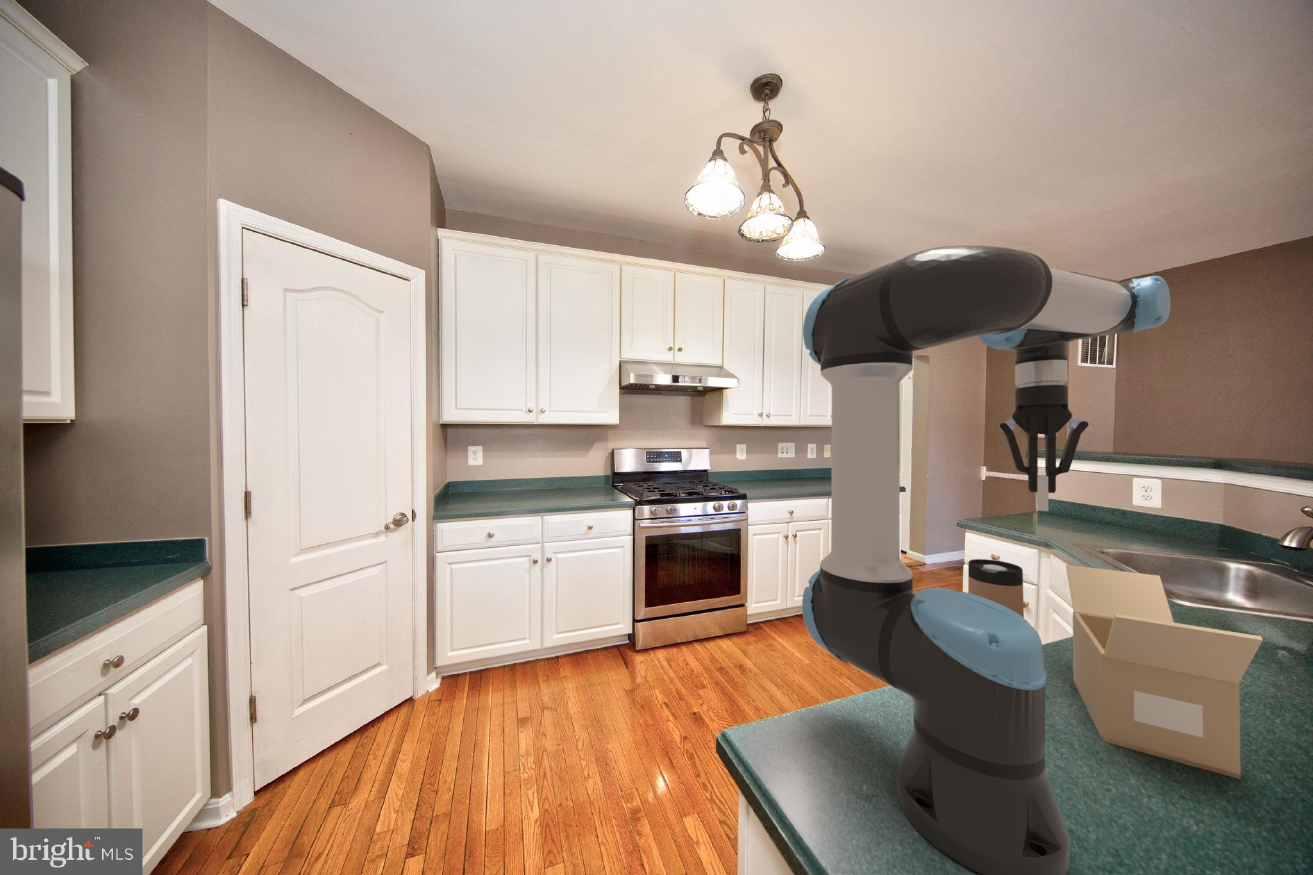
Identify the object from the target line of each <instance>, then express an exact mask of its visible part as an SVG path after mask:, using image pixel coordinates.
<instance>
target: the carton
mask: <svg viewBox="0 0 1313 875" xmlns="http://www.w3.org/2000/svg"><path fill="white" fill-rule="evenodd" d="M1112 622H1113V618H1108V617H1102V616H1096V615H1090V614H1084V613H1077V612H1074V611H1072V649H1073V650H1072V651H1073V652H1072V655H1073V658H1072V662H1073V663H1072V666H1073V668H1072V671H1073V676H1072V677H1073V684H1074V685H1075V687H1076V689H1077V691H1078V693H1079V695H1080V698H1081V700H1082V702H1083V704H1084V706H1085V708H1086V710H1087V713H1088V714H1089V716H1090V718H1091V720H1092V722H1093V724H1094V726H1095V728H1096V730H1097V732H1098V734H1099V737H1100V739H1101V741H1102V742H1104V743H1108V744H1111V745H1115V746H1119V747H1121V748H1126V749H1129V750H1133V751H1136V752H1140V753H1144V754H1148V755H1150V756H1154V757H1158V758H1161V759H1165V760H1169V761H1173V762H1177V763H1179V764H1180V763H1181V764H1184V765H1186V766H1190V767H1195V768H1198V769H1201V770H1205V771H1209V772H1212V773H1216V774H1220V775H1223V776H1226V777H1230V778H1234V779H1236V780H1237V779H1238V780H1241V779H1242V777H1241V772H1242V771H1241V770H1242V769H1241V768H1242V767H1241V712H1240V711H1241V710H1240V709H1241V706H1240V704H1241V703H1240V683H1239V684H1237V683H1232V682H1227V681H1222V680H1217V679H1212V678H1207V677H1202V676H1197V675H1192V674H1187V673H1182V672H1177V671H1172V670H1167V669H1162V668H1157V667H1152V666H1147V665H1141V664H1136V663H1131V662H1126V661H1121V660H1116V659H1111V658H1106V657H1105V656H1104V652H1105V648H1106V644H1107V641H1108V637H1109V633H1110V630H1111V626H1112Z"/></svg>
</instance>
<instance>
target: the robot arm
mask: <svg viewBox="0 0 1313 875" xmlns="http://www.w3.org/2000/svg"><path fill="white" fill-rule="evenodd" d="M1171 304H1172V302H1171V292H1170V287H1169V285H1168V284H1167V282H1166V280H1165V279H1164V278H1163V277H1161V276H1159V275H1152V276H1147V277H1146V276H1145V277H1140V278H1132V279H1130V280H1127V281H1124V282H1123V281H1122V282H1115V281H1114V282H1112V281H1110V280H1104V279H1100V278H1095V277H1092V276H1088V275H1085V274H1084V275H1083V274H1080V273H1079V274H1078V273H1074V272H1071V271H1066V270H1062V269H1061V270H1060V269H1058V268H1054V267H1050V266H1049V264H1048V262H1046V260H1045V259H1043V258H1042V257H1040V256H1039V255H1037V254H1035V253H1032V252H1029V251H1025V250H1020V249H1015V248H1010V247H1001V246H993V245H992V246H991V245H948V246H947V245H946V246H939V247H938V246H937V247H932V248H928V249H923V250H919V251H917V252H914V253H910V254H909V255H906V256H904V257H903V258H901V259H897V260H895V261H893V262H888V263H887V264H884V265H882V266H880V267H877V268H874V269H872V270H869V271H867V272H864V273H860V274H858V275H856V276H853V277H848V278H845V279H843V280H841V281H839V282H837V283H835V284H834V285H833V286H831V287H827V288H826V289H824V290H822V291H821V292H820V293H819V294H818V295H816V297H814V299H813V300H812V301H811V303H810V305H809V307H808V308H807V310H806V312H805V316H804V319H803V320H804V321H803V326H802V338H803V343H804V346H805V349H806V350H809V353H808V355H809V357H810V358H811V359H812V360H813V361H814V362H815V363H816V364H818V365H819V366H820V376H821V377H822V378H823V379H824V380H825V381H827V382H828V383H829V384H830V386H831V525H830V526H831V531H830V532H831V534H830V535H831V542H830V543H831V546H830V548H831V549H830V550H831V551H830V552H829V553H828V554H827V555H826V556H825V557H824V558H822V560H820V563H819V570H817V571H816V572H814V573H813V574H812V575H811V576H810V578H809V579H808V582H807V583H808V586H805V587H804V589H803V593H802V600H801V610H802V617H803V618H802V619H803V622H804V625H805V627H806V630H807V632H808V633H809V635H810V637H811V638H812V640H813V641H814V642H815V643H816V644H817V645H818V646H819V647H821V648H822V649H824V650H825V651H827V652H829V653H830V655H833V656H834V658H836V659H838V660H839V661H841V662H843V663H846V664H850V665H852V666H854V667H856V668H857V669H860V670H861V671H863V672H864V673H867V674H868V675H870V676H872V677H874V678H876V679H878V680H879V681H882V682H884V683H886V684H887V685H889V686H890V687H893V688H895V689H897V690H898V691H901V692H902V693H904V694H905V695H908V696H910V697H911V698H912V699H913V700H912V702H913V704H912V705H913V706H912V707H913V728H912V730H911V733H910V736H909V738H908V741H907V743H906V746H905V748H904V751H903V753H902V755H901V758H900V760H899V763H898V766H897V770H896V771H897V772H896V792H897V798H898V802H899V804H900V807H901V809H902V811H903V813H904V814H905V816H906V817H907V819H908V821H909V822H910V823H911V824H912V825H913V826H914V828H915V829H916V830H917V831H918V832H919V833H920V834H921V835H922V836H923V837H925V839H926V840H927V841H928V842H929V843H930V844H932V845H933V846H934V847H936V848H937V849H938V850H939V851H941V852H942V853H943V854H945V855H946V856H948V857H949V858H951V859H953V860H955V861H956V862H958V863H959V864H961V865H963V866H964V867H966V868H969V869H970V870H972V871H975V872H977V873H978V874H981V875H1067V873H1068V872H1069V869H1070V866H1071V863H1070V862H1071V856H1070V855H1071V854H1070V853H1071V852H1070V851H1071V850H1070V849H1071V848H1070V847H1071V846H1070V845H1071V844H1070V837H1069V836H1070V835H1069V832H1068V829H1067V826H1066V822H1065V820H1064V817H1063V814H1062V812H1061V810H1060V807H1059V804H1058V802H1057V798H1056V797H1055V794H1054V791H1053V789H1052V786H1051V783H1050V781H1049V778H1048V775H1047V773H1046V753H1045V752H1046V684H1047V683H1046V682H1047V677H1048V675H1047V669H1046V666H1045V662H1044V652H1043V643H1042V640H1041V637H1040V635H1039V633H1038V631H1037V630H1036V629H1035V627H1033V626H1032V625H1031V623H1030V622H1029V620H1027V619H1025V617H1024V618H1023V617H1022V616H1020V615H1019V614H1017V613H1016V612H1014V611H1012V610H1010V609H1009V608H1007V607H1005V606H1003V605H1000V604H998V603H996V602H993V601H991V600H988V599H986V598H983V597H980V596H977V595H974V594H970V593H968V592H966V591H961V592H960V591H959V592H958V591H955V590H953V589H950V588H944V587H929V588H922V589H920V590H918V591H916V592H915V593H914V581H913V575H914V574H913V572H912V570H911V568H909V567H908V566H906V564H905V563H904V562H903V561H902V560H901V558H900V556H901V554H900V553H901V552H900V551H901V550H900V547H901V546H900V544H901V542H900V539H901V538H900V536H901V535H900V532H901V531H900V530H901V529H900V526H901V525H900V524H901V522H900V519H901V517H900V515H901V512H900V509H901V508H900V507H901V506H900V504H901V503H900V501H901V500H900V498H901V496H900V494H901V493H900V492H901V491H900V481H901V480H900V479H901V478H900V476H901V472H900V471H901V469H900V468H901V467H900V464H901V463H900V461H901V459H900V458H901V457H900V456H901V455H900V454H901V453H900V452H901V451H900V450H901V449H900V446H901V444H900V441H901V440H900V435H901V434H900V432H901V429H900V427H901V426H900V424H901V423H900V420H901V419H900V418H901V416H900V415H901V413H900V412H901V410H900V409H901V405H900V402H901V400H900V399H901V397H900V395H901V393H900V392H901V388H900V387H901V382H902V380H903V379H905V377H906V376H908V375H909V374H910V373H911V372H913V369H914V366H913V363H914V362H913V360H914V359H913V357H914V352H915V351H916V352H917V351H920V350H927V349H929V348H930V349H931V348H933V347H939V346H942V345H946V344H950V343H954V342H958V341H962V340H965V339H966V340H967V339H970V338H974V337H978V339H979V341H980V342H982V343H983V344H984V345H985V346H987V347H990V348H992V349H994V350H999V351H1007V352H1009V351H1010V352H1014V371H1015V372H1014V376H1015V377H1014V385H1015V386H1016V387H1017V388H1016V389H1015V391H1014V392H1015V393H1014V394H1015V395H1014V396H1015V397H1014V398H1015V401H1014V402H1015V404H1014V405H1015V406H1014V407H1015V410H1014V412H1013V413H1012V416H1011V418H1009V419H1008V420H1006V421H1005V422H1002V423H1000V424H998V428H999V429H1000V431H1001V432H1002V433H1003V434H1004V435H1005V439H1006V442H1007V445H1008V448H1009V451H1010V454H1011V458H1012V460H1013V463H1014V467H1015V469H1016V471H1018V472H1021V473H1023V474H1026V475H1027V487H1028V489H1027V490H1028V491H1029V492H1031V493H1035V509H1036V511H1039V512H1040V511H1041V512H1049V494H1050V493H1051V494H1055V493H1056V491H1057V481H1056V480H1057V479H1056V478H1057V476H1059V475H1061V474H1066V473H1069V472H1070V469H1071V466H1072V464H1073V459H1074V458H1075V454H1076V451H1077V447H1078V445H1079V441H1080V438H1081V435H1082V434H1083V433H1084V432H1085V431H1086V429H1087V428H1088V427H1089V424H1090V423H1089V422H1088V421H1086V420H1084V421H1083V420H1080V419H1078V418H1076V417H1074V416H1073V413H1072V412H1071V410H1070V409H1069V387H1068V386H1067V385H1065V383H1067V382H1068V381H1069V379H1068V378H1069V376H1068V342H1073V341H1078V340H1085V339H1091V338H1099V337H1105V336H1112V335H1119V334H1126V333H1136V332H1138V331H1144V330H1147V329H1149V330H1150V329H1153V328H1159V327H1161V326H1162V325H1163V324H1164V323H1166V322H1167V320H1168V319H1169V317H1170V313H1171ZM1067 423H1069V424H1068V429H1069V430H1070V431H1069V432H1068V435H1067V439H1066V442H1065V445H1064V448H1063V452H1062V454H1061V458H1060V461H1059V463H1058V466H1057V444H1056V443H1057V433H1059V432H1060V431H1061V430H1062V429H1063V428H1064V427H1065V426H1066V425H1067ZM1015 424H1016V425H1017V426H1018V427H1019V428H1020V429H1021V430H1022V431H1023V432H1024V433H1025V434H1026V439H1027V440H1026V442H1027V444H1026V445H1027V466H1025V463H1024V459H1023V457H1022V454H1021V451H1020V448H1019V444H1018V441H1017V438H1016V435H1015V432H1014V430H1015V429H1016V427H1015ZM1040 434H1042V435H1044V436H1043V437H1044V460H1045V461H1044V463H1045V465H1044V466H1045V468H1044V471H1045V475H1044V474H1043V475H1041V474H1038V473H1039V471H1038V470H1039V463H1038V462H1039V461H1038V460H1039V459H1038V457H1039V456H1038V451H1039V449H1038V448H1039V447H1038V441H1039V440H1038V439H1039V435H1040Z"/></svg>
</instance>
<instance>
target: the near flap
mask: <svg viewBox="0 0 1313 875" xmlns="http://www.w3.org/2000/svg"><path fill="white" fill-rule="evenodd" d="M1263 641H1264V640H1263V638H1262V636H1261V635H1254V634H1248V633H1242V632H1234V631H1229V630H1223V629H1216V628H1209V627H1204V626H1197V625H1191V624H1185V623H1177V622H1174V623H1173V622H1166V621H1160V620H1154V619H1147V618H1141V617H1134V616H1128V615H1122V614H1115V615H1114V618H1113V622H1112V626H1111V630H1110V633H1109V637H1108V641H1107V644H1106V648H1105V652H1104V656H1105V657H1106V658H1111V659H1116V660H1121V661H1126V662H1131V663H1136V664H1141V665H1147V666H1152V667H1157V668H1162V669H1167V670H1172V671H1177V672H1182V673H1187V674H1192V675H1197V676H1202V677H1207V678H1212V679H1217V680H1222V681H1227V682H1232V683H1237V684H1239V685H1240V682H1241V679H1242V678H1243V677H1244V675H1245V673H1246V671H1247V669H1248V667H1249V666H1250V664H1251V662H1252V661H1253V658H1254V657H1255V655H1256V653H1257V651H1258V650H1259V648H1260V646H1261V644H1262V643H1263Z"/></svg>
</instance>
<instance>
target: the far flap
mask: <svg viewBox="0 0 1313 875" xmlns="http://www.w3.org/2000/svg"><path fill="white" fill-rule="evenodd" d="M1065 569H1066V574H1067V580H1068V581H1067V582H1068V587H1069V592H1070V598H1071V603H1072V604H1071V605H1072V609H1073V611H1072V612H1077V613H1084V614H1090V615H1096V616H1102V617H1108V618H1114V615H1115V614H1122V615H1128V616H1134V617H1141V618H1147V619H1154V620H1160V621H1166V622H1173V623H1175V622H1174V618H1173V615H1172V612H1171V608H1170V605H1169V602H1168V599H1167V598H1168V597H1167V595H1166V593H1165V592H1166V591H1165V589H1164V585H1163V582H1162V580H1161V579H1162V578H1161V576H1160V575H1158V574H1157V575H1155V574H1149V573H1148V574H1146V573H1139V572H1131V571H1123V570H1122V571H1120V570H1116V569H1115V570H1114V569H1113V570H1112V569H1106V568H1105V569H1104V568H1095V567H1089V566H1088V567H1087V566H1078V565H1072V564H1071V565H1069V564H1066V565H1065Z"/></svg>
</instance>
